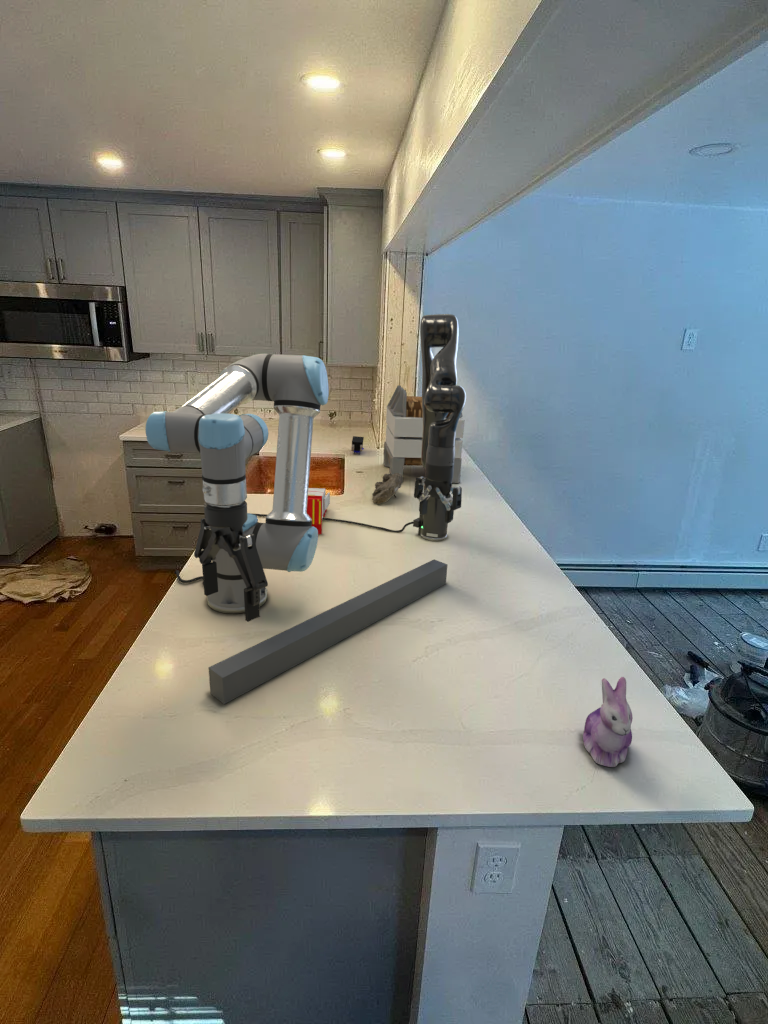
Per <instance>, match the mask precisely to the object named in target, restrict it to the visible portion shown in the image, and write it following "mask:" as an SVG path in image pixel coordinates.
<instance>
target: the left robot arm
mask: <svg viewBox="0 0 768 1024" xmlns="http://www.w3.org/2000/svg"><path fill="white" fill-rule="evenodd" d="M329 391H330V390H329V377H328V372H327V368H326V364H325V363H324V361H323V360H322V359H321V358H319V357H317V356H310V355H305V354H303V355H301V354H299V355H298V354H276V353H275V354H274V353H256V354H253V355H249V356H246V357H243V358H240V359H239V360H237V361H234V362H232V363H231V364H229V365H228V366H226V367H224V369H222V371H221V372H220V374H219V376H218V378H217V379H216V380H215V381H213V382H212V383H210V384H209V385H207V386H206V387H205V388H204V389H202V390H200V392H198V393H197V394H195V395H194V396H193V397H192V398H190V399H188V400H187V401H186V402H185V403H183V404H182V405H180V406H179V407H178V408H177V409H175V410H173V411H167V410H164V411H153V412H152V413H150V415H148V417H147V418H146V419H147V420H146V422H145V428H144V429H145V436H146V441H147V443H148V445H149V446H150V447H151V448H153V449H154V450H158V451H164V452H168V453H172V452H174V453H187V454H189V453H190V454H199V455H200V465H201V466H200V467H201V479H202V490H201V491H202V494H203V501H204V503H203V511H204V513H203V514H204V518H201V519H200V530H199V534H198V537H197V541H196V544H195V549H194V552H193V556H194V558H195V559H199V560H198V561H199V563H200V564H201V571H202V576H197V577H193V578H191V579H183V578H182V577H181V575H180V570H179V569H177V570H175V571H174V572H173V573H174V574H175V575H176V578H177V580H178V582H180V583H181V584H190V583H193V582H196V581H201V580H202V585H203V595H204V596H205V597H207V605H208V606H209V607H210V608H211V609H212V610H214V611H216V612H219V613H223V614H244V620H245V621H246V622H250V621H252V620H255V619H257V618H259V617H261V614H260V613H261V612H260V607H261V606H263V605H264V604H265V603H266V602H267V599H268V589H267V587H269V583H268V580H267V577H266V576H267V575H266V574H265V571H264V570H273V571H274V570H276V571H284V572H288V573H291V572H296V573H297V572H299V573H300V572H301V573H302V572H305V571H307V570H308V569H309V568H310V567H311V565H312V563H313V561H314V557H315V555H316V551H317V547H318V541H319V534H318V530H317V528H315V527H314V526H312V519H311V518H310V516H309V515H308V514H307V500H308V488H309V484H310V473H311V459H312V457H311V456H312V445H313V444H312V443H313V430H314V419H315V418H316V417H317V416H318V415H319V414H320V413H321V406H325V405H327V404H328V402H329V396H330V395H329V393H330V392H329ZM253 401H265V402H273V409H274V410H275V411H276V413H277V414H278V426H277V427H278V428H277V440H276V441H277V442H276V454H275V455H276V456H275V469H274V482H273V483H274V484H273V498H272V500H273V501H272V510H271V511H270V512H269V513H268V514H266V515H267V516H266V517H265V522H259V518H258V516H256V515H253V514H254V513H252V514H251V512H248V503H247V501H246V500H247V498H248V490H247V475H246V460H247V459H248V458H250V457H251V456H253V455H255V454H257V453H259V452H260V451H261V449H262V448H263V447H264V446H265V445H266V444H267V442H268V440H269V434H270V433H269V428H268V425H267V423H266V422H265V420H264V419H262V418H261V417H260V416H259V415H257V414H254V413H241V414H240V415H239V414H234V413H233V412H234V411H236V409H238V408H239V407H240V406H241V405H247V404H249V403H250V402H253ZM179 575H180V576H179Z"/></svg>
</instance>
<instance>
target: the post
mask: <svg viewBox="0 0 768 1024" xmlns="http://www.w3.org/2000/svg"><path fill="white" fill-rule="evenodd" d="M447 574H448V564H447V563H445V562H442V561H439V560H437V559H431V560H429V561H428V562H425V563H423V564H421V565H419V566H417V567H415V568H412V569H410V570H409V571H407V572H404V573H402V574H400V575H399V576H396V577H394V578H392V579H390V580H387V581H386V582H384V583H382V584H380V585H377V586H375V587H374V588H371V589H369V590H367V591H365V592H363V593H360V594H359V595H357V596H353V598H349V599H348V600H346V601H344V602H342V603H340V604H338V605H336V606H334V607H331V608H329V609H327V610H325V611H323V612H321V613H319V614H317V615H315V616H312V617H311V618H309V619H306V620H304V621H302V622H300V623H298V624H296V625H294V626H292V627H289V628H287V629H285V630H284V631H281V632H279V633H277V634H275V635H273V636H271V637H269V638H267V639H265V640H262V641H261V642H259V643H257V644H254V645H253V646H249V647H248V648H246V649H243V650H241V651H239V652H238V653H236V654H233V655H232V656H229V657H227V658H226V659H222V660H221V661H219V662H217V663H215V664H213V665H211V666H208V681H209V693H210V694H211V695H212V696H213V697H214V698H215V699H217V700H218V701H219V702H220V703H222V704H223V705H226V704H228V703H230V702H232V701H233V700H235V699H237V698H239V697H241V696H243V695H244V694H246V693H248V692H249V691H252V690H253V689H255V688H257V687H259V686H261V685H263V684H265V683H266V682H268V681H270V680H272V679H274V678H276V677H277V676H279V675H281V674H283V673H285V672H286V671H288V670H290V669H292V668H294V667H296V666H297V665H300V664H301V663H303V662H305V661H306V660H308V659H310V658H312V657H314V656H316V655H317V654H320V653H322V652H323V651H325V650H327V649H329V648H331V647H333V646H334V645H336V644H338V643H340V642H342V641H343V640H345V639H347V638H349V637H351V636H353V635H355V634H356V633H358V632H360V631H361V630H363V629H365V628H368V627H370V626H371V625H373V624H375V623H376V622H378V621H381V619H382V620H383V619H384V618H386V617H388V616H389V615H391V614H393V613H395V612H396V611H399V610H400V609H402V608H404V607H406V606H408V605H409V604H411V603H413V602H415V601H417V600H419V599H421V598H422V597H424V596H426V595H428V594H429V593H430V594H431V592H434V591H435V590H437V589H439V588H440V587H442V586H444V585H446V584H447V576H448V575H447Z"/></svg>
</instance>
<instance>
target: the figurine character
mask: <svg viewBox="0 0 768 1024" xmlns="http://www.w3.org/2000/svg"><path fill="white" fill-rule="evenodd" d="M363 450H364V436H357V435H353V436H352V439H351V449H350V451H351V452H353V455H356V454H358V455H361V452H363Z"/></svg>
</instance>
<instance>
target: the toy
mask: <svg viewBox="0 0 768 1024" xmlns="http://www.w3.org/2000/svg"><path fill="white" fill-rule="evenodd" d="M326 492H327V491H326V488H324V487H323V488H321V487H319V488H318V487H308V500H307V514H308V515H309V516H310V518H311V519H312V526H314V527H315V528H317V530H318V535H322V534H323V520H322V519H323V518H326V514H327V512H328V507H329V506H330V504H331V493H330V492H331V491H330V492H327V493H326Z"/></svg>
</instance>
